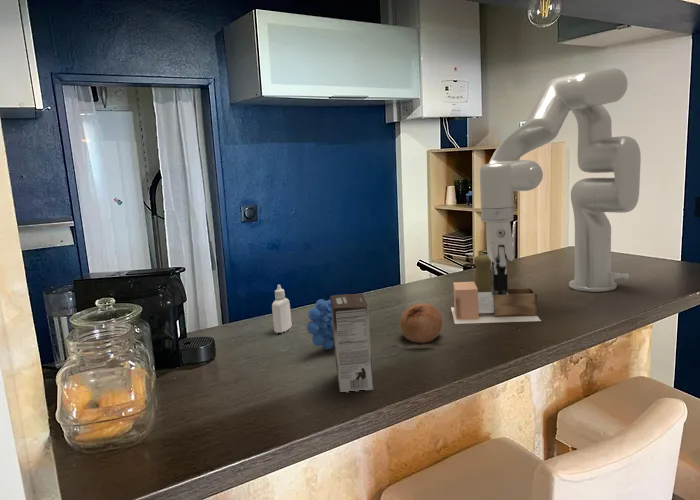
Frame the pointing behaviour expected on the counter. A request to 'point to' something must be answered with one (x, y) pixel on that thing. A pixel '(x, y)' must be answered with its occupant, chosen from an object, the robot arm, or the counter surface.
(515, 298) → the walnut sleeve
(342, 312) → the coffee box
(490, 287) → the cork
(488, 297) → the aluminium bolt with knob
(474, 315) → the terracotta socket
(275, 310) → the eye dropper bottle
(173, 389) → the counter surface
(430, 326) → the onion
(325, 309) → the grapes
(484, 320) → the grey base board
